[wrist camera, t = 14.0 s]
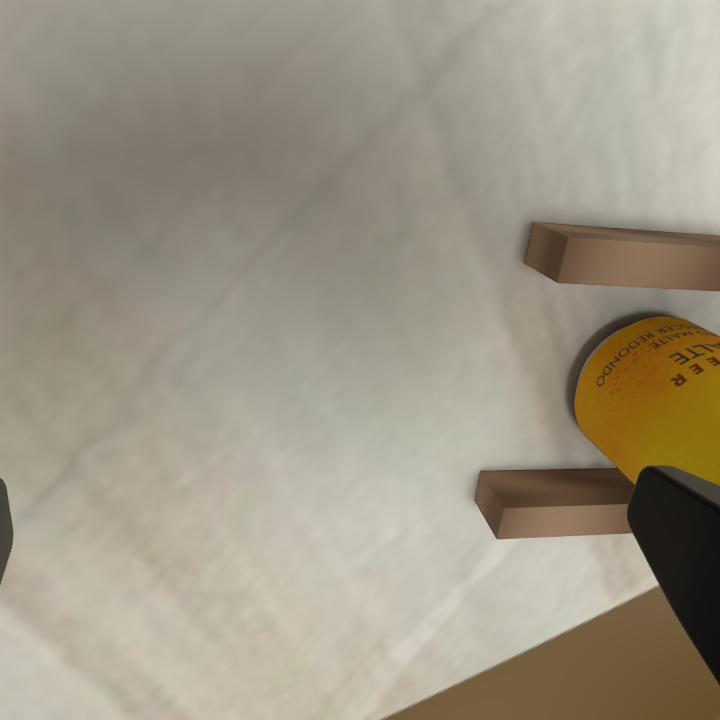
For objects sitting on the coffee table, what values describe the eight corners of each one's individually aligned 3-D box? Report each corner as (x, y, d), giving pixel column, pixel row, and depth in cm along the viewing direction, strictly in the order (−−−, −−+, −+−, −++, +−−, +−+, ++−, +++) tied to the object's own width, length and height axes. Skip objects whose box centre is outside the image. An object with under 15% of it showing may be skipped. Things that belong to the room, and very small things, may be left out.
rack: (474, 500, 26) (508, 560, 22) (533, 222, 21) (588, 245, 18) (702, 493, 28) (764, 547, 25) (801, 241, 23) (893, 265, 20)
